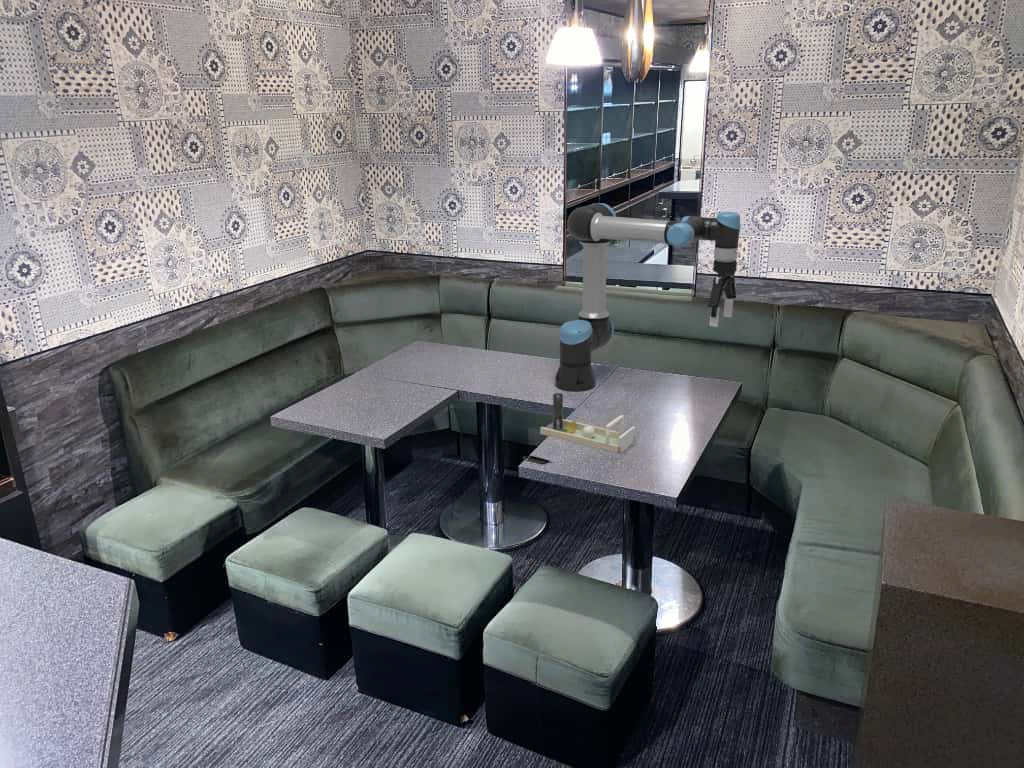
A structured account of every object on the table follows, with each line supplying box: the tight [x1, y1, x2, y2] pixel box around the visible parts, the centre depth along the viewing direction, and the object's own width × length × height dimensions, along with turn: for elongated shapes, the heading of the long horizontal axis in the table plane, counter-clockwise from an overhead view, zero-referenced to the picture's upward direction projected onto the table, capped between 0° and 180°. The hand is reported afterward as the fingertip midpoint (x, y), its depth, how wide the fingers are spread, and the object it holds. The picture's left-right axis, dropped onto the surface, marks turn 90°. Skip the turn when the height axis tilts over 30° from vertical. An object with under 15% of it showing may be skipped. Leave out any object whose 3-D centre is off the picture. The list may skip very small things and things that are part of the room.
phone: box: [522, 453, 551, 465], centre depth 236 cm, size 8×1×15 cm
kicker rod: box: [545, 392, 577, 434], centre depth 246 cm, size 8×7×12 cm
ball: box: [582, 425, 595, 438], centre depth 242 cm, size 4×4×4 cm
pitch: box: [539, 414, 636, 454], centre depth 242 cm, size 28×10×9 cm, turn 56°
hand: (720, 321), depth 267 cm, fingers open, 13 cm apart
